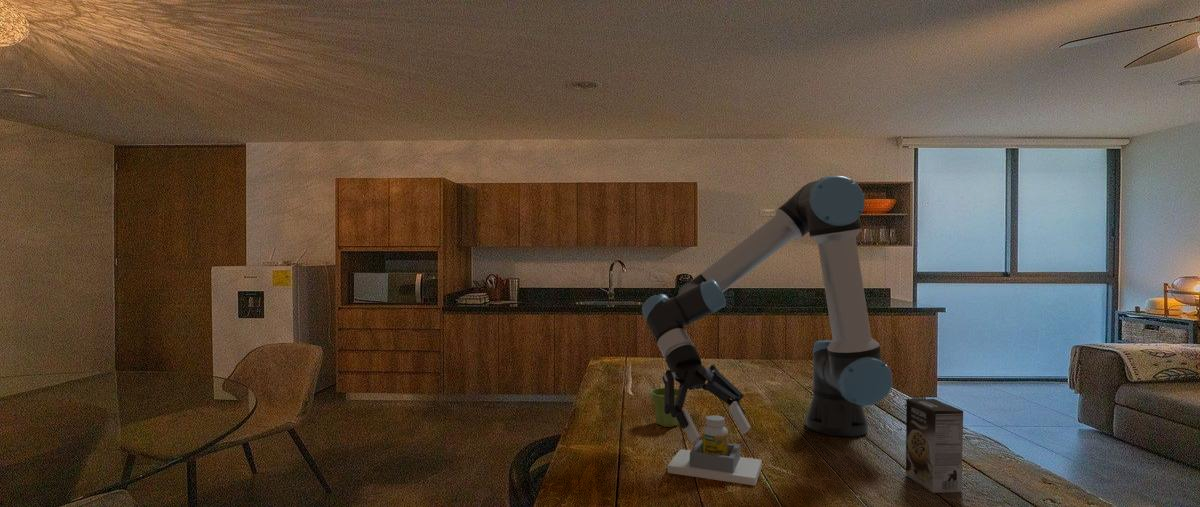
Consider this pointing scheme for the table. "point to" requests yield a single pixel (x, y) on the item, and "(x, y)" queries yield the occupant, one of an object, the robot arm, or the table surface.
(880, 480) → the table surface
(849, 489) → the table surface
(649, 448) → the table surface
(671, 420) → the plant pot
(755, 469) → the white base grey socket
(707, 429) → the supplement bottle
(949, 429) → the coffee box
